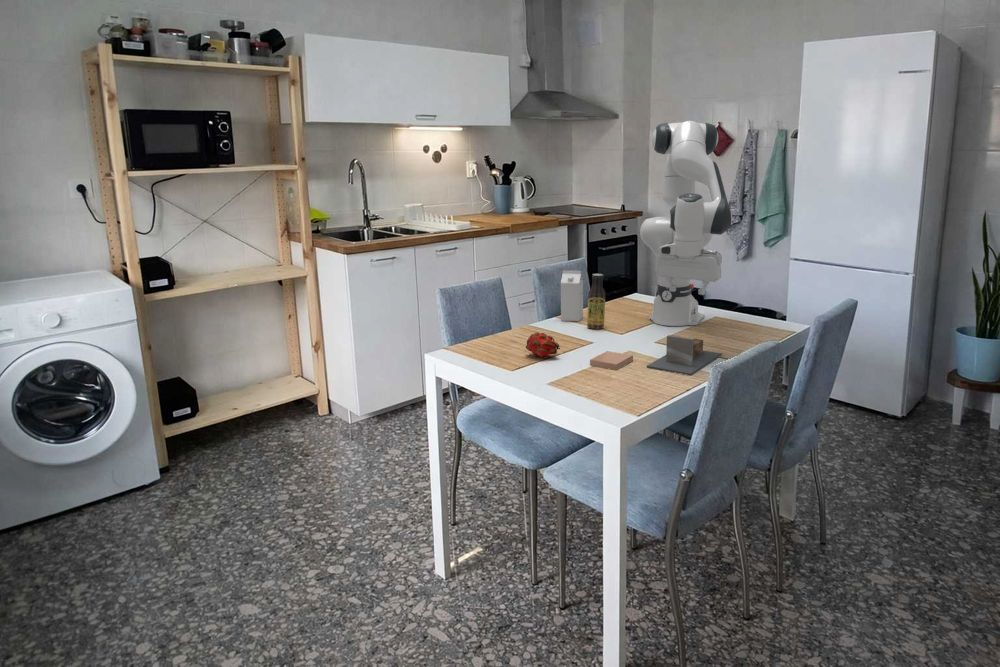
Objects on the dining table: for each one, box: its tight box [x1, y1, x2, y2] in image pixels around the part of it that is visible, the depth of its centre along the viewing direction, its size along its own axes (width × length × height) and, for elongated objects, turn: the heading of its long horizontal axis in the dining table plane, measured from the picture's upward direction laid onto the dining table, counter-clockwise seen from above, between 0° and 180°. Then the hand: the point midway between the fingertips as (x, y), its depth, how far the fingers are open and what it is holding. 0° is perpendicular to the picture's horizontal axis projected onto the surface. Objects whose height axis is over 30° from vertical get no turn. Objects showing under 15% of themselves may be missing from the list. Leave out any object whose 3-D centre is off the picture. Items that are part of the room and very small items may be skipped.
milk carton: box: [560, 270, 584, 322], centre depth 270 cm, size 7×7×19 cm
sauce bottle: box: [586, 273, 606, 330], centre depth 256 cm, size 7×6×20 cm
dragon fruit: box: [525, 331, 561, 359], centre depth 225 cm, size 8×8×12 cm
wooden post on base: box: [665, 334, 704, 366], centre depth 217 cm, size 15×8×8 cm, turn 142°
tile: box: [589, 350, 634, 371], centre depth 217 cm, size 2×9×11 cm
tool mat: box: [646, 349, 723, 376], centre depth 216 cm, size 24×14×1 cm, turn 142°
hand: (687, 292), depth 218 cm, fingers open, 8 cm apart
